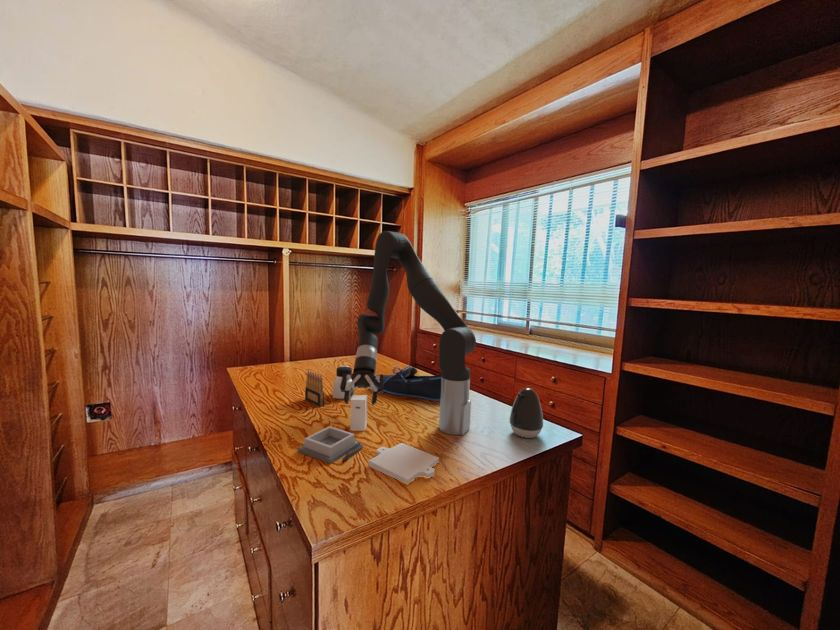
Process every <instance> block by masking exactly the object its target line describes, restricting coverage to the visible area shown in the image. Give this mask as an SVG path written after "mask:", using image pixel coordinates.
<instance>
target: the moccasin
mask: <svg viewBox="0 0 840 630" xmlns="http://www.w3.org/2000/svg"><path fill="white" fill-rule="evenodd" d="M396 369H398V371H395V370H396ZM392 373H393V374H383V377H384V388H383V393H387V394H391V395H397V396H405V397H413V398H420V399H423V400H429V401H436V402H440V393H441V374H438V375H416V374H417V373H418V370H417V368H415V367H413V366H410V365H406V366H404V367H403V368H402V369H401V368H400V367H399V366H395V367H394V368H393V369H392ZM375 375H376V376H380V375H381V374H375ZM373 383H374V385H375V387H376V388H377V389H378V388H379V386H380V382H378V380H377V379H376V380H375V381H374V382H373Z"/></svg>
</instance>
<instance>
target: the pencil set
mask: <svg viewBox="0 0 840 630" xmlns="http://www.w3.org/2000/svg"><path fill="white" fill-rule="evenodd" d="M323 382H324V381H323V375H322V374H320V373H317V372H315V371H312V370H310V369H308V370H307V372H306V381H305V387H304V389H305V390H304V391H305V394H304V400H305V401H306V400H307V401H306V402H308V401H309V402H308V403H310V402H311V404H312V403H313V404H312V405H314V404H315V406H316V405H317V407H318V406H319V408H322V407H325V392H324V383H323Z"/></svg>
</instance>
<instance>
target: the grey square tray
mask: <svg viewBox="0 0 840 630" xmlns="http://www.w3.org/2000/svg"><path fill="white" fill-rule="evenodd" d="M355 436H356V435H355V433H353V432H349V431H346V430H343V429H340V428H336V427H334V426H330V425H329V426H327V427H325V428H323V429H321V430H318V431H317V432H314V433H313V434H311V435H309V436H307V437H304V442H303V443H304V444H303V445H301V446H298V447H297V452H299V453H301V454H303V455H307V456H309V457H312V458H314V459H317V460H319V461H321V462H325V463H327V464H330V465H331V464H333V463H334V462H336V461H338V460H339V459H341V458H344V457H345V456H346V455H348V454H349V453H350V452H352V451H353V450H354V449H356V448H357V447H358V446H360V445H361V443H362V442H361V441H358V440H355Z"/></svg>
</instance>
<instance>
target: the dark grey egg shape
mask: <svg viewBox="0 0 840 630" xmlns="http://www.w3.org/2000/svg"><path fill="white" fill-rule="evenodd" d="M509 424H510V427H511V430H512V431H513V432H514V434H515V435H517V436H519V437H520V436H521V438H523V437H525V439H532V438H536V437H537V436H538V435H539V434H540V433H541V432H542V430H543V427H544V414H543V410H542V405H541V402H540V398H539V396H538V394H537V392H536V391H535V390H534V389H533V388H531V387H524V388H522V389H520V391H519V392H518V393H517V395H516V397H515V399H514V401H513V404H512V407H511V410H510V415H509Z"/></svg>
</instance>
